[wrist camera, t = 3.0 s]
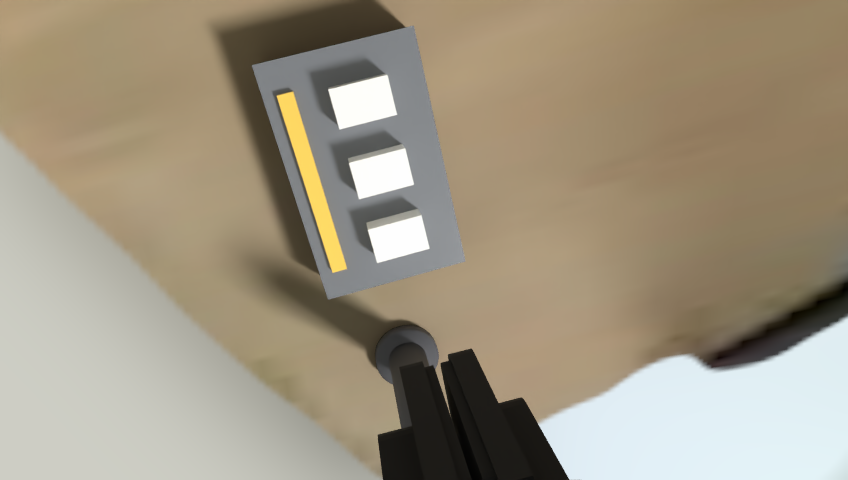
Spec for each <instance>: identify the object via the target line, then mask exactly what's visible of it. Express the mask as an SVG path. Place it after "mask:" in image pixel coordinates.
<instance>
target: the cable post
mask: <svg viewBox="0 0 848 480" xmlns="http://www.w3.org/2000/svg"><path fill="white" fill-rule="evenodd" d="M375 358H376V364H377V369H378V371H379V373H380V375H381V376H382V377H383V378H384V379H385V380H386V381H388V382H389V383H391V384H393V386H394V392H395V397H396V402H397V408H398V413H399V418H400V424H401V429H402V428H406V427H410V426H412V423H411V419H410V414H409V410H408V405H407V401H406V396H405V392H404V387H403V383H402V378H401V374H400V369H399V367H400V366H404V365H408V364H412V363H416V362H420V361H423V364H424V367H427V366H431V365H433V366H434V368H435V369H436V366H437V364H438V359H439V354H438V349H437V346H436V344H435V341H434V339H433V337H432V336H431V335H430V333H428V332H427V331H426V330H424V329H423V328H420V327H418V326H413V325H404V326H399V327H396V328H393V329H392V330H390V331H388V332H387V333H386V334H385V335H384V336H383V337H382V338H381V339H380V341H379V342H378V344H377V347H376V352H375Z"/></svg>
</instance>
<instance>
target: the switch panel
mask: <svg viewBox="0 0 848 480" xmlns="http://www.w3.org/2000/svg"><path fill="white" fill-rule="evenodd" d="M252 68H253V71H254V74H255V77H256V80H257V83H258V86H259V89H260V92H261V95H262V99H263V102H264V105H265V108H266V111H267V114H268V117H269V120H270V123H271V126H272V129H273V132H274V135H275V138H276V142H277V145H278V148H279V151H280V154H281V157H282V160H283V163H284V166H285V169H286V172H287V175H288V178H289V181H290V184H291V188H292V191H293V194H294V197H295V200H296V203H297V206H298V209H299V212H300V215H301V218H302V221H303V224H304V227H305V231H306V234H307V237H308V240H309V243H310V246H311V249H312V252H313V255H314V258H315V261H316V264H317V267H318V270H319V274H320V277H321V280H322V283H323V286H324V289H325V292H326V295H327V298H328V300H329V299H332V298H336V297H340V296H343V295H347V294H350V293H354V292H357V291H361V290H365V289H368V288H372V287H375V286H379V285H383V284H386V283H390V282H393V281H397V280H400V279H404V278H408V277H411V276H415V275H418V274H422V273H426V272H429V271H433V270H436V269H440V268H443V267H447V266H451V265H454V264H458V263H461V262H465V257H464V253H463V248H462V244H461V239H460V234H459V230H458V225H457V221H456V216H455V212H454V207H453V203H452V198H451V193H450V189H449V184H448V180H447V175H446V171H445V166H444V162H443V157H442V152H441V148H440V143H439V139H438V134H437V130H436V125H435V121H434V116H433V111H432V107H431V102H430V98H429V93H428V89H427V84H426V80H425V75H424V70H423V66H422V61H421V57H420V52H419V48H418V43H417V39H416V34H415V29H414V26H410V27H406V28H402V29H398V30H394V31H390V32H386V33H382V34H377V35H373V36H369V37H365V38H361V39H357V40H353V41H349V42H345V43H341V44H337V45H333V46H328V47H324V48H320V49H316V50H312V51H308V52H304V53H300V54H296V55H292V56H288V57H284V58H279V59H275V60H271V61H267V62H263V63H259V64H255V65H252Z"/></svg>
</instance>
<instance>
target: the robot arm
mask: <svg viewBox="0 0 848 480" xmlns="http://www.w3.org/2000/svg"><path fill="white" fill-rule="evenodd" d="M448 359H449V361H447V362H443V363H441V370H442V375H443V380H444V385H445V390H446V395H447V400H448V405H449V410H450V413H449V410H448V407H447V404H446V401H445V398H444V395H443V392H442V389H441V386H440V383H439V380H438V377H437V374H436V371H435V368H434V366H433V365H431V366H427V367H424V364H423V361H420V362H416V363H412V364H408V365H404V366H400V367H399V369H400V374H401V378H402V383H403V387H404V392H405V396H406V401H407V405H408V410H409V414H410V419H411V423H412V426H410V427H406V428H402V429H398V430H394V431H391V432H387V433H383V434H379V435H378V443H379V451H380V459H381V467H382V475H383V480H569V478H568V477H567V475H566V473H565V471H564V469H563V468H562V466H561V464H560V463H559V461H558V459H557V457H556V455H555V453H554V452H553V450H552V448H551V446H550V445H549V443H548V441H547V439H546V437H545V436H544V434H543V432H542V430H541V429H540V427H539V425H538V423H537V421H536V420H535V418H534V416H533V414H532V413H531V411H530V409H529V407H528V405H527V404H526V402H525V401H524V399H523V398H517V399H513V400H509V401H506V402H502V403H498V401H497V399H496V397H495V395H494V393H493V391H492V389H491V387H490V385H489V383H488V381H487V379H486V376H485V374H484V372H483V370H482V368H481V366H480V364H479V362H478V360H477V358H476V356H475V354H474V352H473V350H472V349H468V350H464V351H460V352H456V353H452V354H448ZM450 415H451V416H450Z"/></svg>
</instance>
